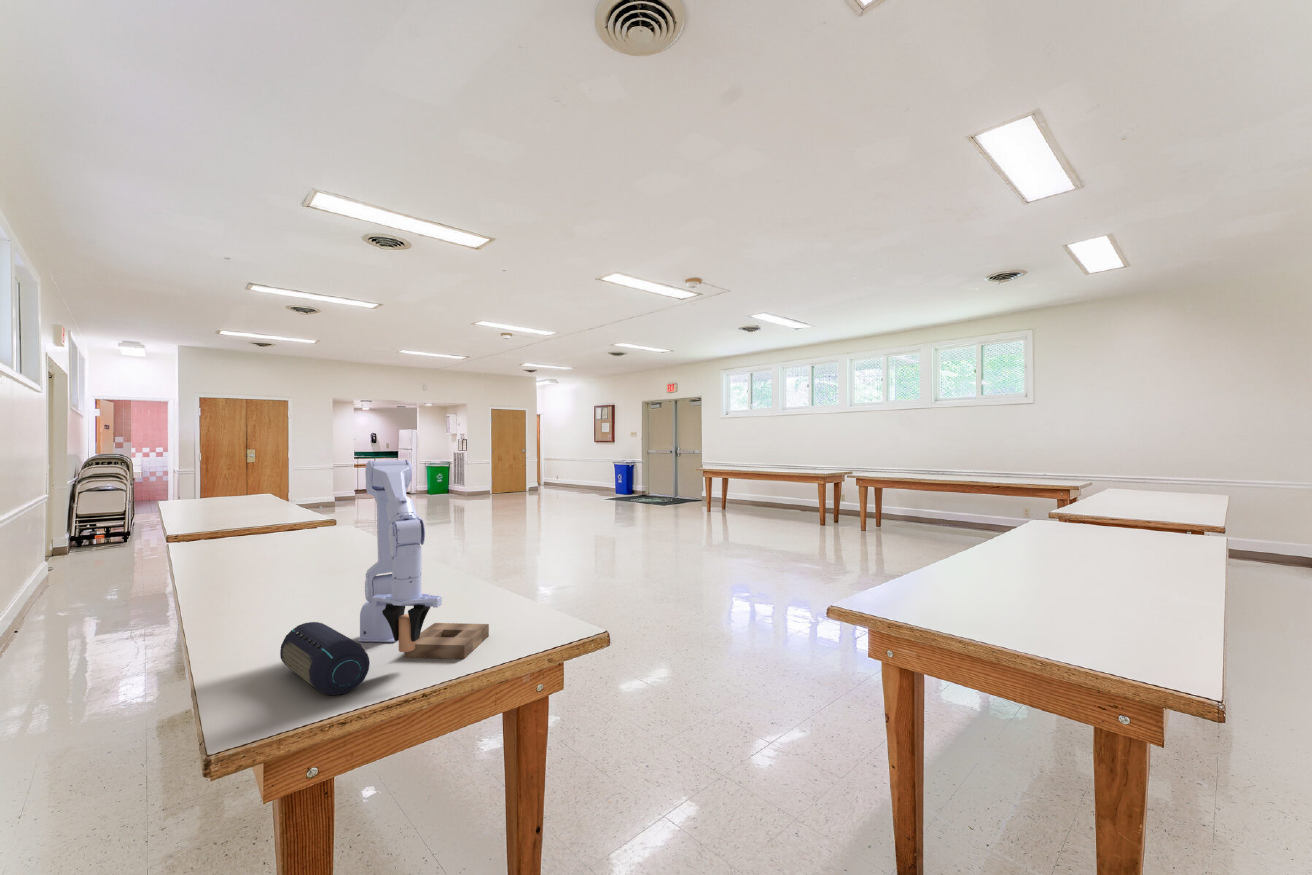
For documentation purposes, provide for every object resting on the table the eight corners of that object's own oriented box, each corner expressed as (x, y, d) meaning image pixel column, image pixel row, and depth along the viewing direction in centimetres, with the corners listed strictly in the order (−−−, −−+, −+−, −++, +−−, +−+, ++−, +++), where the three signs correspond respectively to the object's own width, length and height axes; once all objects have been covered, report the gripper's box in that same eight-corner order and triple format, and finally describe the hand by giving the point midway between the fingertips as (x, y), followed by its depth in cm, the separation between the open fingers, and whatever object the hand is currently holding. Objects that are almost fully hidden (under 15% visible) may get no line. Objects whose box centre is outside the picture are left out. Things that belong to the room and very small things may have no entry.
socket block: (404, 657, 121) (404, 643, 121) (434, 634, 135) (434, 622, 135) (464, 658, 120) (464, 645, 120) (488, 635, 134) (488, 623, 134)
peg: (395, 651, 113) (395, 618, 113) (403, 645, 116) (403, 613, 116) (410, 652, 113) (410, 619, 113) (418, 646, 116) (417, 614, 116)
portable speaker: (274, 672, 114) (274, 625, 114) (326, 657, 121) (326, 613, 121) (318, 709, 98) (318, 654, 98) (375, 689, 105) (375, 638, 105)
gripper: (362, 580, 111) (362, 645, 111) (430, 581, 110) (430, 647, 110) (382, 571, 118) (382, 633, 118) (446, 572, 117) (446, 635, 117)
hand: (406, 639), depth 115 cm, fingers closed on peg, 3 cm apart
